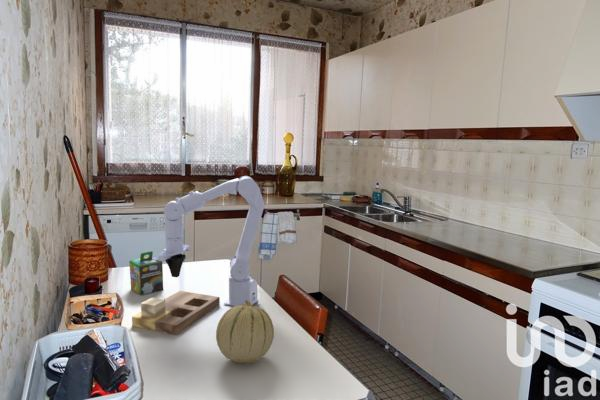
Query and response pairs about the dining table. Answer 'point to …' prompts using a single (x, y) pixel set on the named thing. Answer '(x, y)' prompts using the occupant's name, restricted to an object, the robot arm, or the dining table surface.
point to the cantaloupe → (245, 333)
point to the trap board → (178, 312)
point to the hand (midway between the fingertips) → (175, 276)
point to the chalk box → (146, 274)
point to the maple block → (153, 307)
